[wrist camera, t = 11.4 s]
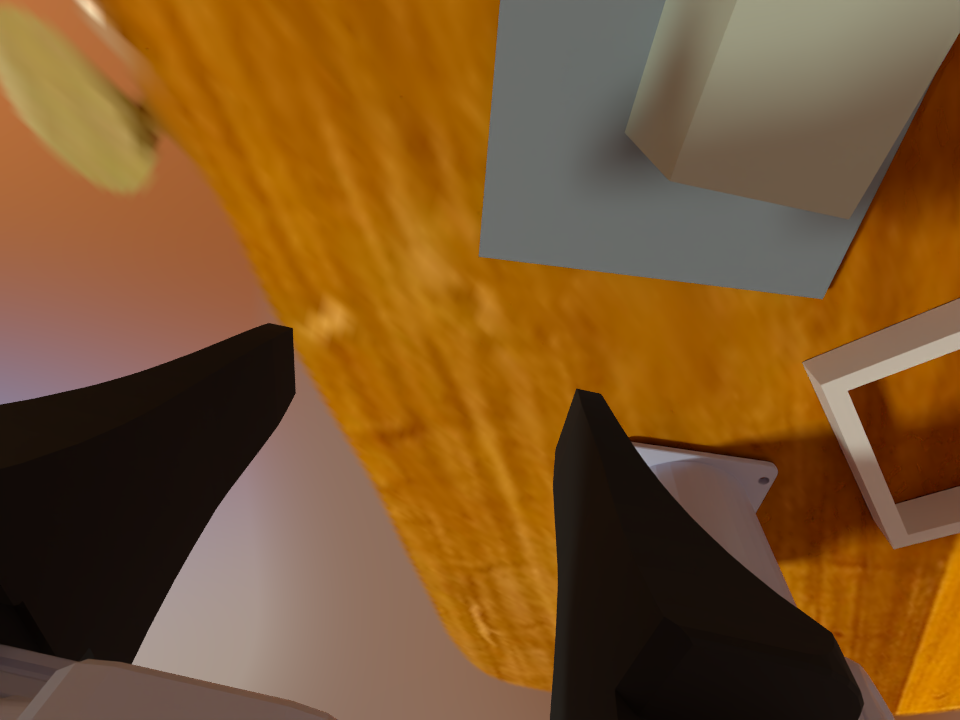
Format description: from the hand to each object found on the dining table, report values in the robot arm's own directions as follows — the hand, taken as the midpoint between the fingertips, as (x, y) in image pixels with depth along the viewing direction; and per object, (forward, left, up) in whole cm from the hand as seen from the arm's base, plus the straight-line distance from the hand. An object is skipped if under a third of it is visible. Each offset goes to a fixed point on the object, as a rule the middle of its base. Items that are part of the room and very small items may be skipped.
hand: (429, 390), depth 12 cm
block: (+7, -7, -10) cm, 14 cm away
